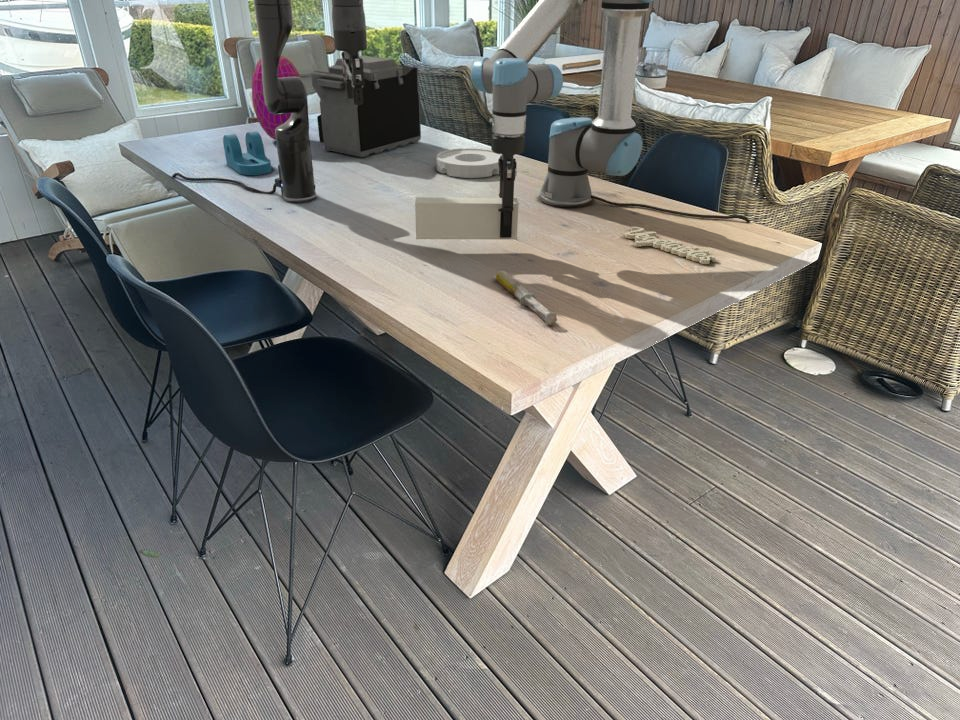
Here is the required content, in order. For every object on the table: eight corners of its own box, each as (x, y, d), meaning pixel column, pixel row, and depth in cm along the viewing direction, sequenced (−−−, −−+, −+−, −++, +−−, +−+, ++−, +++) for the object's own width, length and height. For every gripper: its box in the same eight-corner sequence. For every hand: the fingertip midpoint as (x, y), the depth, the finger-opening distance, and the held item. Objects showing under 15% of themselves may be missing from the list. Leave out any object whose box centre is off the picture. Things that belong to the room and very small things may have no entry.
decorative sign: (611, 234, 176) (635, 225, 181) (610, 237, 176) (634, 229, 182) (700, 264, 159) (723, 254, 164) (699, 268, 159) (723, 257, 165)
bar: (515, 233, 168) (517, 197, 164) (516, 239, 164) (518, 203, 160) (416, 232, 167) (415, 197, 163) (416, 239, 163) (414, 202, 159)
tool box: (383, 133, 276) (378, 52, 261) (425, 141, 265) (422, 56, 250) (314, 150, 251) (304, 61, 235) (358, 160, 240) (350, 67, 224)
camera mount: (227, 164, 233) (221, 132, 227) (257, 160, 238) (252, 129, 233) (244, 176, 220) (239, 143, 215) (276, 172, 225) (271, 139, 220)
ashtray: (439, 158, 242) (439, 147, 240) (504, 160, 242) (505, 148, 240) (433, 177, 222) (433, 164, 220) (504, 178, 222) (505, 166, 220)
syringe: (491, 278, 153) (492, 266, 152) (507, 275, 154) (507, 264, 153) (540, 327, 133) (541, 315, 132) (557, 324, 134) (558, 312, 133)
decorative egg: (293, 132, 276) (283, 50, 261) (319, 140, 264) (310, 56, 249) (249, 139, 265) (236, 54, 250) (273, 148, 253) (261, 60, 238)
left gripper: (328, 25, 163) (334, 97, 171) (338, 30, 151) (345, 107, 160) (359, 24, 165) (364, 95, 173) (372, 30, 154) (376, 106, 162)
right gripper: (489, 125, 161) (487, 221, 173) (493, 142, 146) (491, 246, 158) (521, 125, 162) (517, 221, 173) (528, 143, 146) (523, 246, 158)
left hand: (355, 101), depth 167 cm, fingers open, 8 cm apart
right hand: (504, 233), depth 166 cm, fingers closed on bar, 4 cm apart
